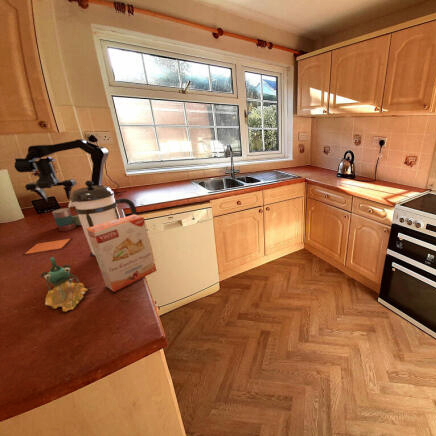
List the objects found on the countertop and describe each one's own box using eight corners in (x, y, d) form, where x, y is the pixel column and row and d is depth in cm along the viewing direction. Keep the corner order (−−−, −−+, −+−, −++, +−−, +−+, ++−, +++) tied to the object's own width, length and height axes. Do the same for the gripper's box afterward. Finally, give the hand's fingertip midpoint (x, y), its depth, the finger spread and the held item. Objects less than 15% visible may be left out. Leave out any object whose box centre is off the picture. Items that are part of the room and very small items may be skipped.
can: (78, 225, 127) (71, 207, 123) (73, 230, 122) (66, 211, 118) (62, 227, 125) (55, 209, 121) (57, 232, 119) (49, 213, 116)
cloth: (70, 239, 112) (70, 238, 112) (61, 248, 103) (61, 248, 103) (36, 244, 108) (36, 243, 108) (24, 254, 99) (24, 254, 99)
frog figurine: (84, 277, 84) (70, 240, 77) (93, 307, 72) (78, 267, 66) (46, 289, 78) (28, 250, 71) (49, 325, 66) (27, 282, 60)
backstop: (88, 223, 130) (84, 214, 128) (87, 224, 129) (83, 215, 127) (59, 226, 126) (56, 217, 124) (58, 228, 124) (54, 219, 123)
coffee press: (123, 261, 93) (99, 184, 82) (79, 264, 92) (48, 186, 81) (145, 241, 109) (127, 174, 98) (108, 242, 108) (86, 175, 97)
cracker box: (114, 293, 75) (93, 232, 68) (105, 287, 78) (84, 227, 71) (158, 271, 86) (144, 216, 79) (148, 266, 89) (134, 213, 82)
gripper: (12, 175, 112) (26, 207, 118) (63, 172, 119) (74, 202, 125) (25, 171, 122) (38, 201, 128) (71, 168, 129) (81, 196, 134)
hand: (58, 200), depth 128 cm, fingers open, 9 cm apart
